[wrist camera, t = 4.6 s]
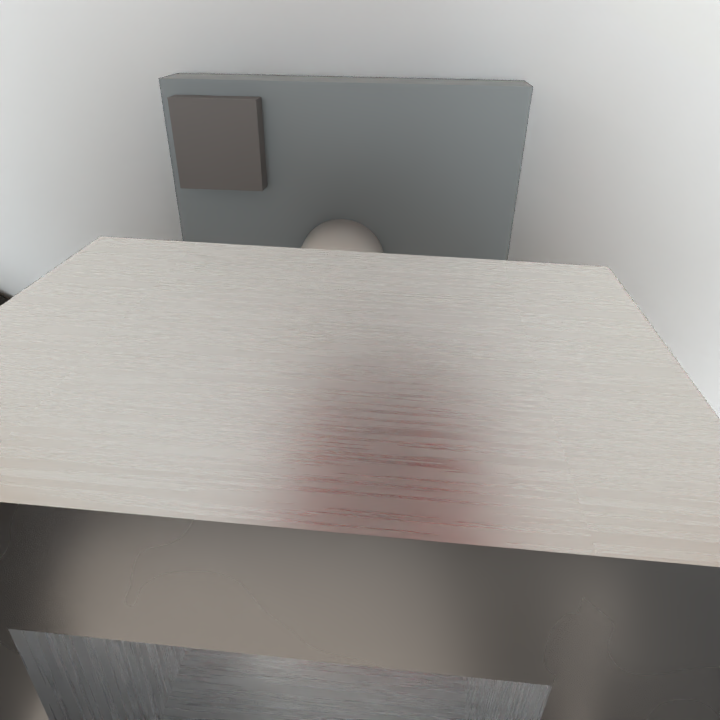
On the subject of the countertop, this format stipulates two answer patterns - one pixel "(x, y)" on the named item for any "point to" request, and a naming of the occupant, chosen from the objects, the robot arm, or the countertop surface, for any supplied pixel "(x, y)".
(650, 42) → the countertop surface
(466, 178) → the grey stand
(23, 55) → the countertop surface
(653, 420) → the grey square hollow block
